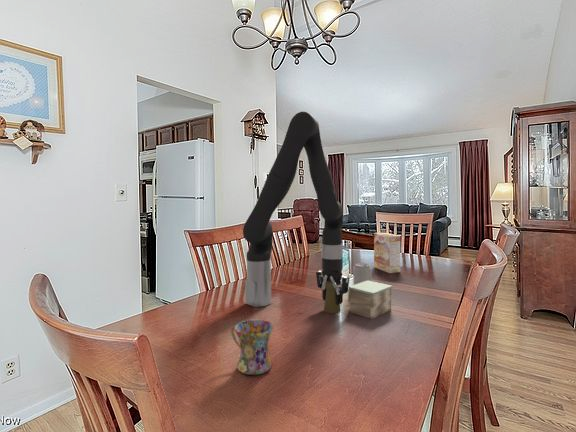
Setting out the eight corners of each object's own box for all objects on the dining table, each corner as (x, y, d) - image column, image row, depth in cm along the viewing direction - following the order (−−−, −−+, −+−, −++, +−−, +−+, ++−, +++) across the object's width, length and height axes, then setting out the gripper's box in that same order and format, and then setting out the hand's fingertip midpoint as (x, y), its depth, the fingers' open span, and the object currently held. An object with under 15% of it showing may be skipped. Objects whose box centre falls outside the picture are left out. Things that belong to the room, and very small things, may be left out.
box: (372, 319, 113) (372, 295, 113) (348, 311, 121) (348, 289, 120) (391, 310, 121) (391, 288, 121) (367, 303, 129) (367, 283, 128)
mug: (280, 365, 84) (280, 324, 83) (257, 383, 77) (256, 337, 76) (244, 352, 91) (243, 314, 90) (219, 368, 83) (218, 326, 82)
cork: (329, 306, 126) (329, 277, 126) (343, 309, 123) (343, 280, 122) (320, 310, 122) (320, 280, 121) (335, 314, 118) (335, 283, 117)
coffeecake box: (373, 267, 189) (373, 232, 188) (384, 266, 191) (384, 232, 190) (389, 273, 175) (389, 236, 173) (400, 272, 177) (401, 235, 175)
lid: (373, 295, 113) (373, 293, 113) (348, 288, 120) (348, 286, 120) (392, 287, 121) (392, 285, 121) (367, 282, 128) (367, 280, 128)
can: (371, 295, 139) (371, 266, 138) (353, 294, 141) (353, 265, 140) (370, 289, 146) (371, 262, 146) (353, 289, 148) (353, 262, 147)
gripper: (310, 255, 123) (310, 299, 125) (341, 260, 113) (341, 309, 114) (323, 252, 129) (324, 295, 130) (354, 257, 118) (354, 304, 119)
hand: (332, 301), depth 122 cm, fingers open, 5 cm apart
